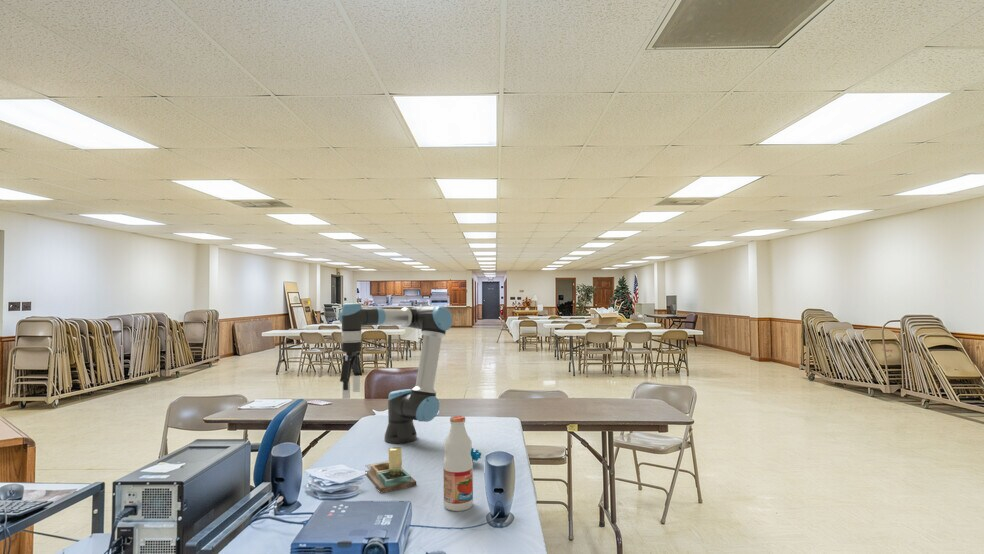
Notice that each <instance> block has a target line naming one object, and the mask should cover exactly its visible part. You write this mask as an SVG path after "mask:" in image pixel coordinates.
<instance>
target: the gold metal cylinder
mask: <svg viewBox="0 0 984 554" xmlns="http://www.w3.org/2000/svg"><path fill="white" fill-rule="evenodd" d="M402 453H403V452H402V447H400V446H393V447H389V448H388V461H389V475H388V480H389V479H394V478H399V477H403V474H402V469H403V459H402V457H403V454H402Z"/></svg>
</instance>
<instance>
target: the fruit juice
mask: <svg viewBox="0 0 984 554" xmlns="http://www.w3.org/2000/svg"><path fill="white" fill-rule="evenodd" d="M465 423H466V417H465V416H464V415H453V416H450V417H449V424H450V429H449V432H448V435H447V436H446V438H445V440H444V442H443V450H444V458H443V464H442V465H443V505H444V508H445V509H446V510H448V511H452V512H462V511H466V510H469V509H471V507H473V505H474V504H473V503H474V487H473V485H474V479H473V478H474V475H473V471H474V470H473V468H474V467H473V465H474V464H473V462H474V461H473V462H472V457H471V449H472V448H473V442H472V439H471V438H470V436H469V435H468V433H467V431H466V430H467V429H466V427H465Z"/></svg>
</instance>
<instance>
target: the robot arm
mask: <svg viewBox="0 0 984 554" xmlns="http://www.w3.org/2000/svg"><path fill="white" fill-rule="evenodd" d="M338 320H339V322H340V324H341V333H340V336H341V341H342V343H341V352H342V353H345V355H343V356H342V365H341V366H342V367H341V374H340V379H339V382H340V383H342V399H348V400H349V399H351V380H350V378H351V375H352V374H353V375H352V393H360V392H361V376H362V375H363V372H362V371H363V370H362V366H361V365H362V364H361V359H360V352H361V351H362V342H361V341H362V327H367V326H368V327H369V326H371V327H372V326H401V327H402V328H412V329H417V330H421V331H420V332H421V334H422V335H423V339H422V345H421V351H420V357H419V363H418V368H417V375H416V381H415V386H414V387H413V388H408V389H407V388H406V389H398V390H394V391H390V392H389V393H388V400H387V407H388V408H387V409H388V412H387V413H388V416H387V417H388V418H387V419H388V421H387V422H388V423H387V426H386V429H385V433H384V441H385V442H386V443H391V444H406V443H411V442H413V441H415V440H417V439H418V437H417V436H418V435H417V429H416V427H415V424H414V421H418V422H427V423H428V422H431V421H432V420H434V418H436V417H437V415H438V414H439V412H440V411H439V410H440V407H441V406H440V405H441V404H440V402H439V399H438V398H437V392H436V390H435V388H434V387H435V384H436V383H435V382H436V377H437V371H438V370H437V369H438V365H439V364H438V362H439V357H440V350H441V343H442V339H443V338H444V337H445V336H446V333H447V331H448V330H450V329H451V327H452V325H453V315H452V312H451V311H450V309H449V308H447V306H444V305H420V306H414V307H412V306H411V307H402V308H401V309H398V308H397V309H395V308H394V309H393V308H382V307H377V306H376V307H362V304H361V303H359V302H357V303H354V302H353V303H352V302H351V303H347V302H345V303H343V304H342V308H341V309H340V311H339V313H338Z"/></svg>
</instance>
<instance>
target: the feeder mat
mask: <svg viewBox="0 0 984 554" xmlns="http://www.w3.org/2000/svg"><path fill="white" fill-rule="evenodd" d="M384 462H389V460H385V461H381V462H375V463H370V464H365V465H364V466H365V467H366V468H367V469H368V470H370V465H373V464H379V463H384Z"/></svg>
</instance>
